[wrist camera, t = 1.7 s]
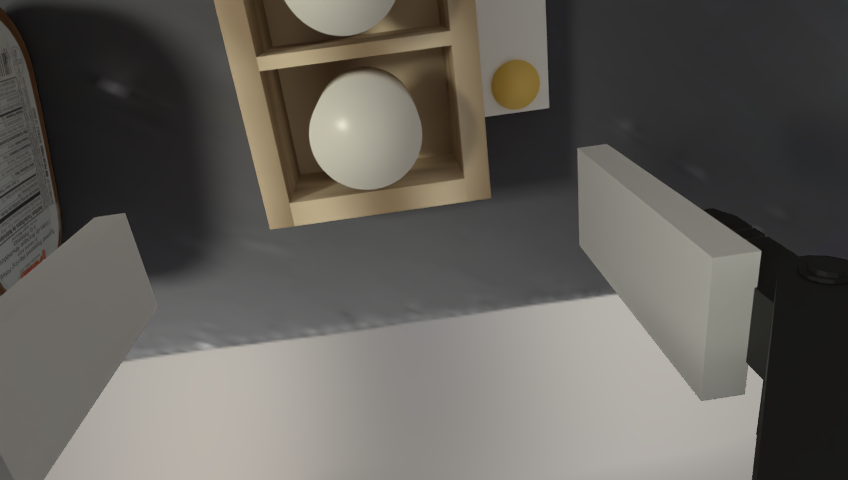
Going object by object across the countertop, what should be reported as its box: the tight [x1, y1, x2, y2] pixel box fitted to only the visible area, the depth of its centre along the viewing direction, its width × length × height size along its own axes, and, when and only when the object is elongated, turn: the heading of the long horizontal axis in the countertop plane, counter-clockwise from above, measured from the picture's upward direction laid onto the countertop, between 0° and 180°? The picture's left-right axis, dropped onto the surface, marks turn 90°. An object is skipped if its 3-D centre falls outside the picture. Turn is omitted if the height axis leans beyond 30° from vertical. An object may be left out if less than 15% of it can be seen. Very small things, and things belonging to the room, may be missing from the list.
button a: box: [309, 66, 422, 190], centre depth 27 cm, size 5×5×4 cm
